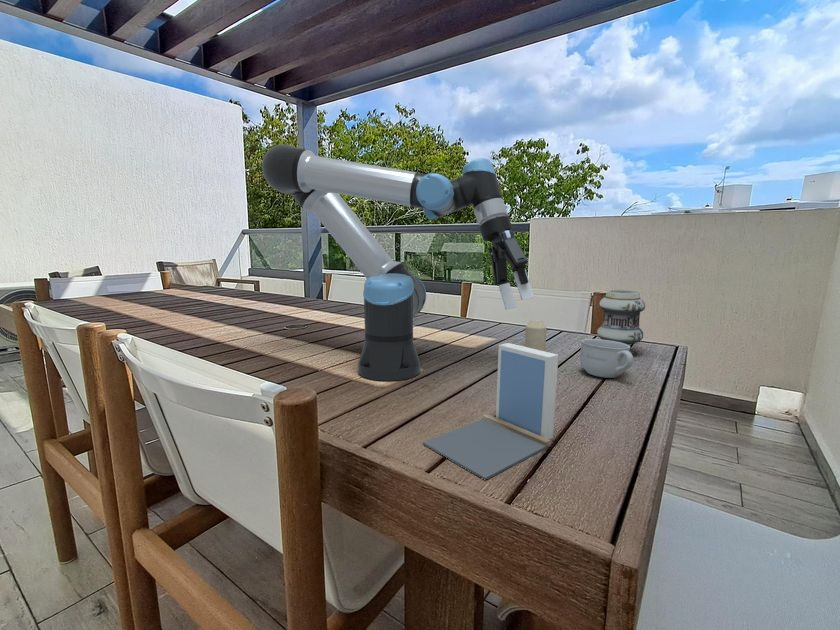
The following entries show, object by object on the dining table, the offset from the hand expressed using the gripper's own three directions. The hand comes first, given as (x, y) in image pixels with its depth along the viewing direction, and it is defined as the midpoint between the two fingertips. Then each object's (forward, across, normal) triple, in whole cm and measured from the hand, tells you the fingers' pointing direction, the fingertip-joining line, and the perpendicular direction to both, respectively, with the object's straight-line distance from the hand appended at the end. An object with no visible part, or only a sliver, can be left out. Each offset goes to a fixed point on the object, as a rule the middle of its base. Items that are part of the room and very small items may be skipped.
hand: (519, 304), depth 100 cm
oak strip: (+23, -26, +16) cm, 38 cm away
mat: (+23, -30, +22) cm, 43 cm away
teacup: (+22, +1, -16) cm, 27 cm away
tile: (+23, -24, +14) cm, 36 cm away
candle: (+14, +18, -6) cm, 24 cm away
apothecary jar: (+19, +21, -31) cm, 42 cm away
